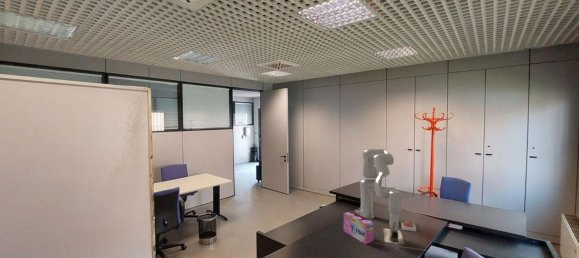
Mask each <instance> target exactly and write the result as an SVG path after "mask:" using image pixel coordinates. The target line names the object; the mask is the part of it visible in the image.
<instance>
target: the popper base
mask: <svg viewBox="0 0 579 258" xmlns="http://www.w3.org/2000/svg"><path fill="white" fill-rule="evenodd" d="M400 226H401V229H402V230H403V231H407V232H409V231H410V232H417V227H416V225H415V223H412V227H405V222H402V221H401V222H400Z"/></svg>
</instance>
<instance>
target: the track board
mask: <svg viewBox="0 0 579 258" xmlns="http://www.w3.org/2000/svg"><path fill="white" fill-rule="evenodd" d="M382 230H383V239H384V242H385V244H387V243H388V244H389V243H391V244H395V245H397V244H398V245H405V242H404V241H405V240H404V238H403V234H402V230H399V229H397V231H398V242H392V241H390V230H391V228H382Z"/></svg>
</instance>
